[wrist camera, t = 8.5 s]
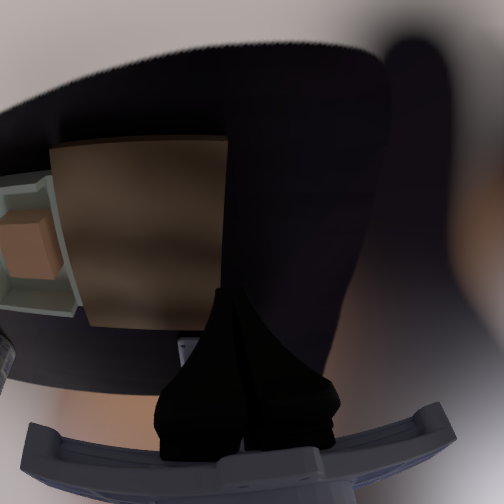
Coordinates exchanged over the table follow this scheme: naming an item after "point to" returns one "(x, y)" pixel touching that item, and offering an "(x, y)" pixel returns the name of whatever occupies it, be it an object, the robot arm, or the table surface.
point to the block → (30, 244)
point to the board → (143, 226)
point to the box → (64, 286)
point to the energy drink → (5, 359)
